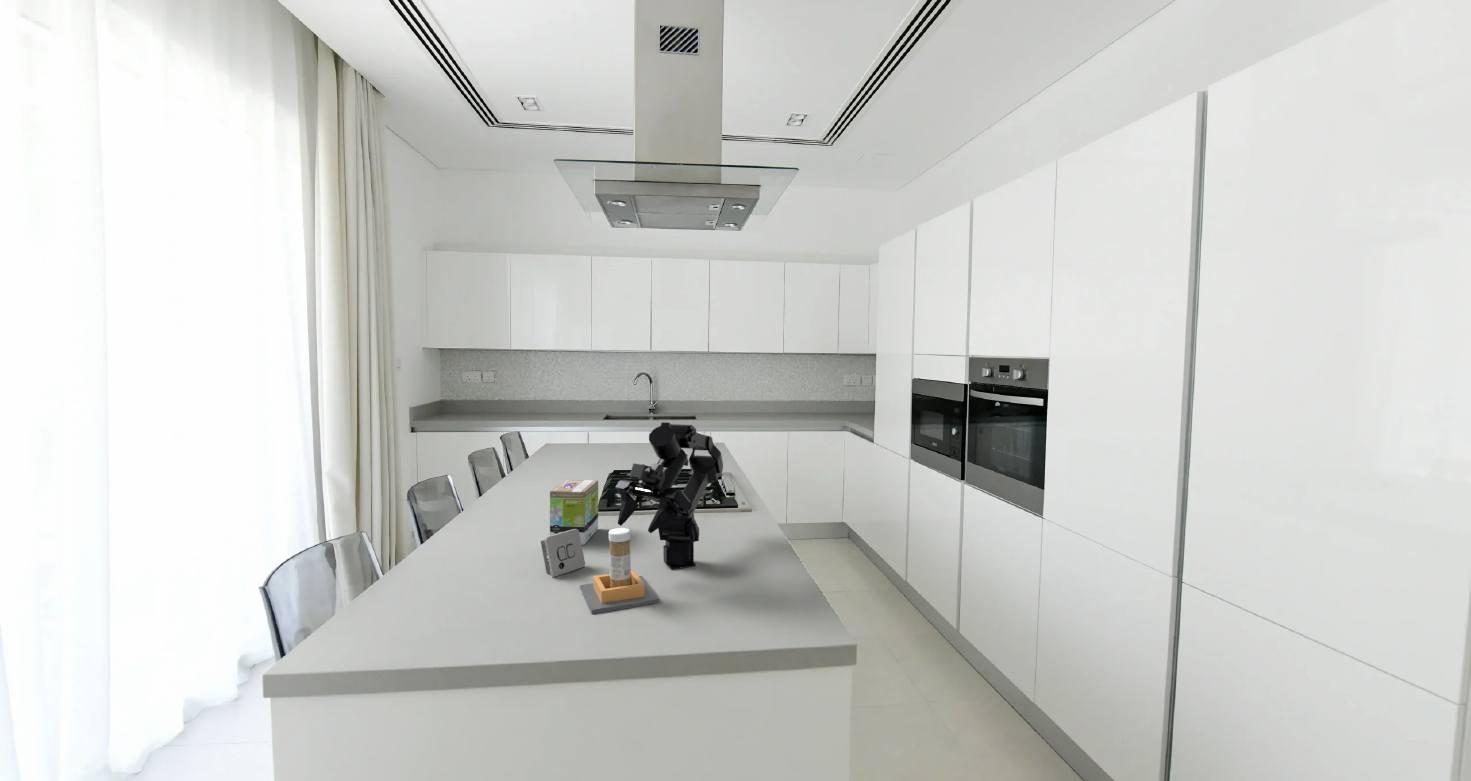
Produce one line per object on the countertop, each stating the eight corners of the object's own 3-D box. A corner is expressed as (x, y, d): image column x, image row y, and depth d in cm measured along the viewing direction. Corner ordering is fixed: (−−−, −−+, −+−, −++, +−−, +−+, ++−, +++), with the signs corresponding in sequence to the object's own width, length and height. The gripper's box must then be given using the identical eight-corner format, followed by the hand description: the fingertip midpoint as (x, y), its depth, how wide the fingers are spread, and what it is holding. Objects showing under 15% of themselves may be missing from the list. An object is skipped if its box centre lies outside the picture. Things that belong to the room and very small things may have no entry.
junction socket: (642, 579, 144) (641, 564, 143) (659, 602, 131) (659, 587, 131) (579, 588, 138) (579, 573, 138) (591, 613, 125) (591, 597, 125)
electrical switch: (553, 578, 144) (550, 538, 144) (540, 575, 147) (536, 536, 147) (586, 567, 151) (583, 529, 151) (573, 564, 155) (570, 527, 154)
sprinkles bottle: (622, 585, 138) (621, 525, 137) (635, 591, 135) (634, 529, 134) (605, 591, 134) (604, 530, 133) (618, 597, 131) (617, 534, 130)
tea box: (586, 545, 167) (585, 490, 166) (548, 545, 167) (547, 490, 166) (599, 528, 182) (598, 478, 181) (565, 528, 182) (563, 478, 181)
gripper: (620, 445, 146) (584, 501, 138) (681, 453, 135) (646, 515, 127) (644, 472, 153) (611, 528, 145) (704, 482, 142) (672, 543, 134)
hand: (634, 528), depth 138 cm, fingers open, 9 cm apart
